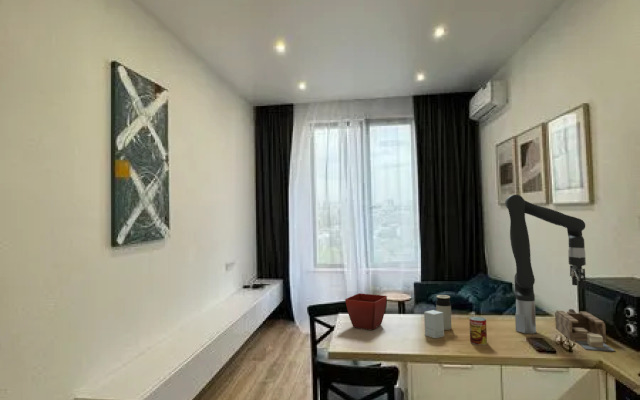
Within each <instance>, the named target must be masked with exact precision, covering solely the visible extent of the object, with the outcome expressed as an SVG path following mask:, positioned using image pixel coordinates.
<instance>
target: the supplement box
mask: <svg viewBox="0 0 640 400" xmlns="http://www.w3.org/2000/svg"><path fill="white" fill-rule="evenodd" d="M423 314H424V315H423V316H424V317H423V318H424V320H423V321H424V336H427V337H430V338H433V339H438V338H442V337H445V330H444V319H443V312H439V311H436V310H434V309H432V310H426V311H424V312H423Z"/></svg>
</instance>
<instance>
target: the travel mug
mask: <svg viewBox="0 0 640 400" xmlns="http://www.w3.org/2000/svg"><path fill="white" fill-rule="evenodd" d="M450 298H451V296H450V295H448V294H447V295H446V294H438V295H436V302H435V303H436V304H435V306H436V307H435V308H436V310H435V311H439V312H443V319H444V331H446V330H447V331H449V330H451V329H452V301H451V300H450Z"/></svg>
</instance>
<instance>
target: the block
mask: <svg viewBox="0 0 640 400" xmlns="http://www.w3.org/2000/svg"><path fill="white" fill-rule="evenodd" d="M587 340H588V341H587V342H588V345H590V346H591V347H603V343H604V342H603V337H602V336H601V335H599V334H587Z"/></svg>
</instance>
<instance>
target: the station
mask: <svg viewBox="0 0 640 400" xmlns="http://www.w3.org/2000/svg"><path fill="white" fill-rule="evenodd" d="M554 315H555V329H556V330H557V331H558V332H560V333H561V334H562V335H563V336H564V337H565V336H566V337H565V338H567V339H568V340H569V341H575V343H577V344H578V345H580V346H581V347H582V348H583V349H584V350H586V351H595V352H596V351H597V352H598V351H599V352H612V351H615V352H616V350H615V349H614V348H612V347H611V346H609V345H607V344H606V343H607V333H606V331H607V330H606V329H607V328H606V323H605V322H604V321H603V320H601V319H600V318H598V317H597V316H595V315H593V314H592V313H589V312H588V311H579V312H578V313H577V312H576V313H567V311H566V312H565V311H564V310H556V311H555V313H554ZM587 334H599V335H601V336H602V337H603V347H591V346H590V345H588V340H587ZM615 352H614V353H615Z"/></svg>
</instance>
